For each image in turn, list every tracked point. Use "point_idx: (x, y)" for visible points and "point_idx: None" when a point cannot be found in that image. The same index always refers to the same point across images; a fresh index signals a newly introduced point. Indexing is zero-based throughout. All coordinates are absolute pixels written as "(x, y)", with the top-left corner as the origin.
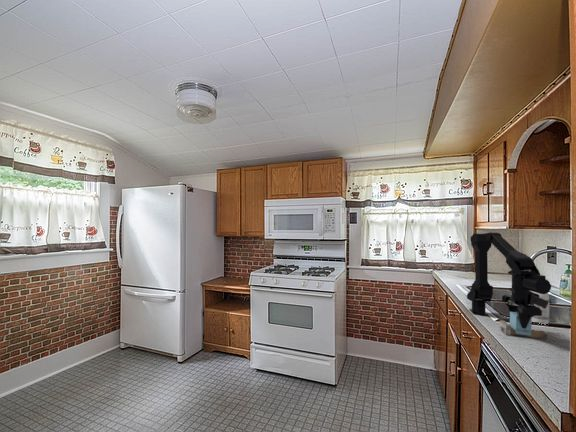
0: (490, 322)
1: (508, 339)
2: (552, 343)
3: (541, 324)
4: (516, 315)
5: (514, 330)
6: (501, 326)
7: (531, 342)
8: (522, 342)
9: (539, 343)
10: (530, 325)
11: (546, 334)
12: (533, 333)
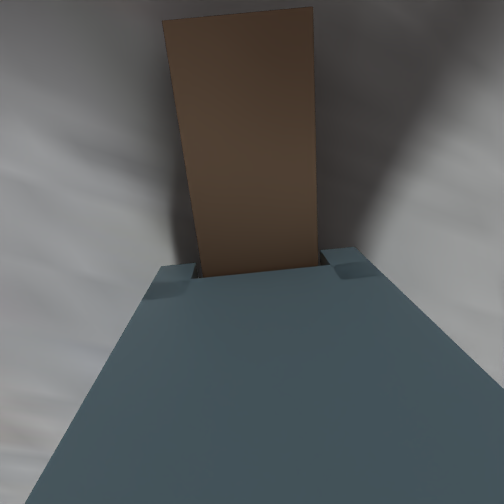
0: (6, 476)
1: None
2: (445, 29)
3: None
4: None
5: None
6: None
7: (473, 275)
8: (493, 351)
9: (484, 203)
10: (434, 339)
11: (312, 20)
12: (314, 214)
